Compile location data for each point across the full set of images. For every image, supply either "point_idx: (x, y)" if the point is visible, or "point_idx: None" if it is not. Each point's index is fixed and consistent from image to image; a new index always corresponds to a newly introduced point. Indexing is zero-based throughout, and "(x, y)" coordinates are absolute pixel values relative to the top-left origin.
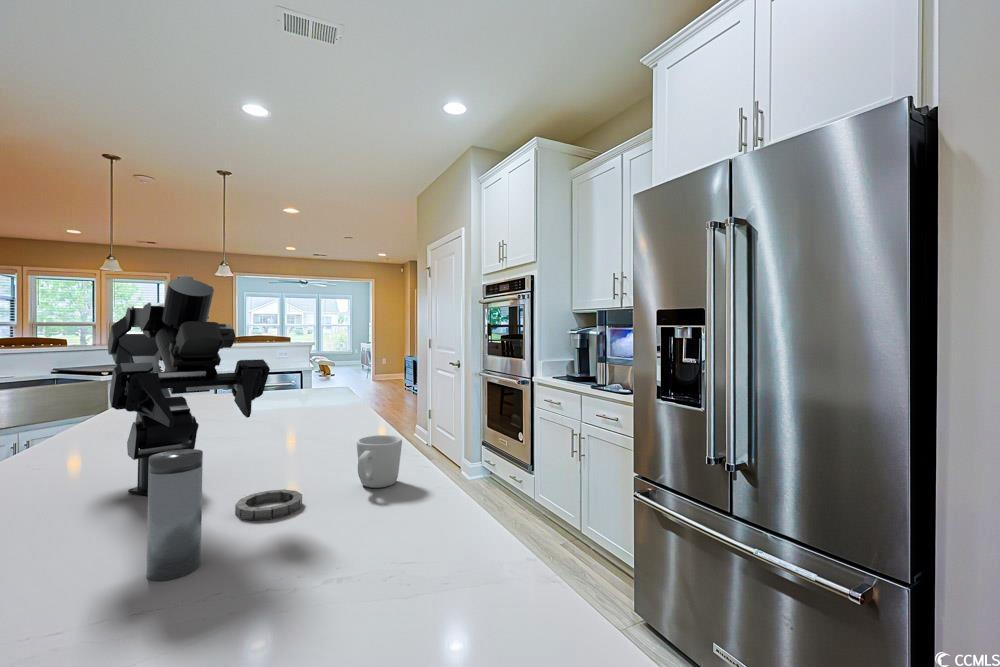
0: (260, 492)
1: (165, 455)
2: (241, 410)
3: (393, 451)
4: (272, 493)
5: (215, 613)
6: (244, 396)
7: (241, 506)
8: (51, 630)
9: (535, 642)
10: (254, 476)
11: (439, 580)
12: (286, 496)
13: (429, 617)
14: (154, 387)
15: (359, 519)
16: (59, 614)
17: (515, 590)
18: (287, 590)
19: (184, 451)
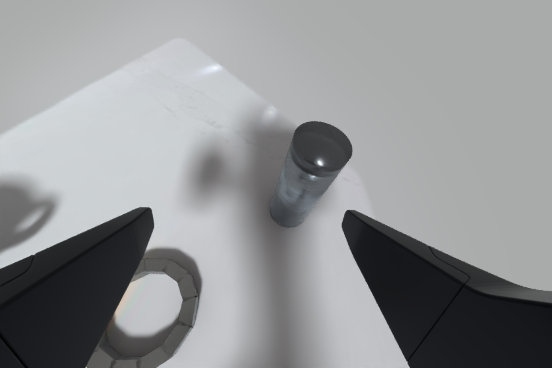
0: None
1: (335, 146)
2: (126, 283)
3: None
4: (110, 355)
5: (278, 142)
6: (96, 244)
7: (189, 308)
8: (348, 184)
9: (194, 53)
10: None
11: (176, 89)
12: None
13: (207, 80)
14: (512, 292)
15: (114, 186)
16: (348, 198)
17: (161, 65)
18: (241, 134)
19: (313, 150)
